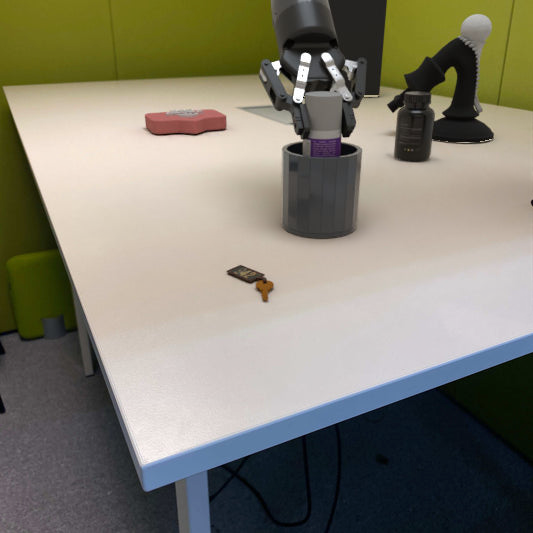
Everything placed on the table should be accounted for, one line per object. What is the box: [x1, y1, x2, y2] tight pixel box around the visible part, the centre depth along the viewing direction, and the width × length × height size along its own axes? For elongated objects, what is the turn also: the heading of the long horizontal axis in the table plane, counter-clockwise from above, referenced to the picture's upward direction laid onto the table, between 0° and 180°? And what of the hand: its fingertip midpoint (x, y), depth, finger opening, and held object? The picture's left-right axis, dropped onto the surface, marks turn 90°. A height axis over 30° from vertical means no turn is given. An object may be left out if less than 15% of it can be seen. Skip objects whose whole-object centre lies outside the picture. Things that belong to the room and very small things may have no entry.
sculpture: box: [386, 13, 495, 143], centre depth 118 cm, size 15×24×25 cm, turn 82°
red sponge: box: [144, 108, 228, 135], centre depth 131 cm, size 18×4×15 cm
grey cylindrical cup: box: [280, 140, 363, 239], centre depth 70 cm, size 10×10×10 cm
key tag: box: [226, 264, 275, 301], centre depth 56 cm, size 8×3×1 cm, turn 32°
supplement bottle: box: [393, 91, 436, 163], centre depth 102 cm, size 7×7×12 cm
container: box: [302, 91, 343, 157], centre depth 68 cm, size 5×5×15 cm
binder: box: [304, 0, 388, 96], centre depth 179 cm, size 27×15×32 cm, turn 89°
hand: (327, 134), depth 65 cm, fingers closed on container, 4 cm apart
